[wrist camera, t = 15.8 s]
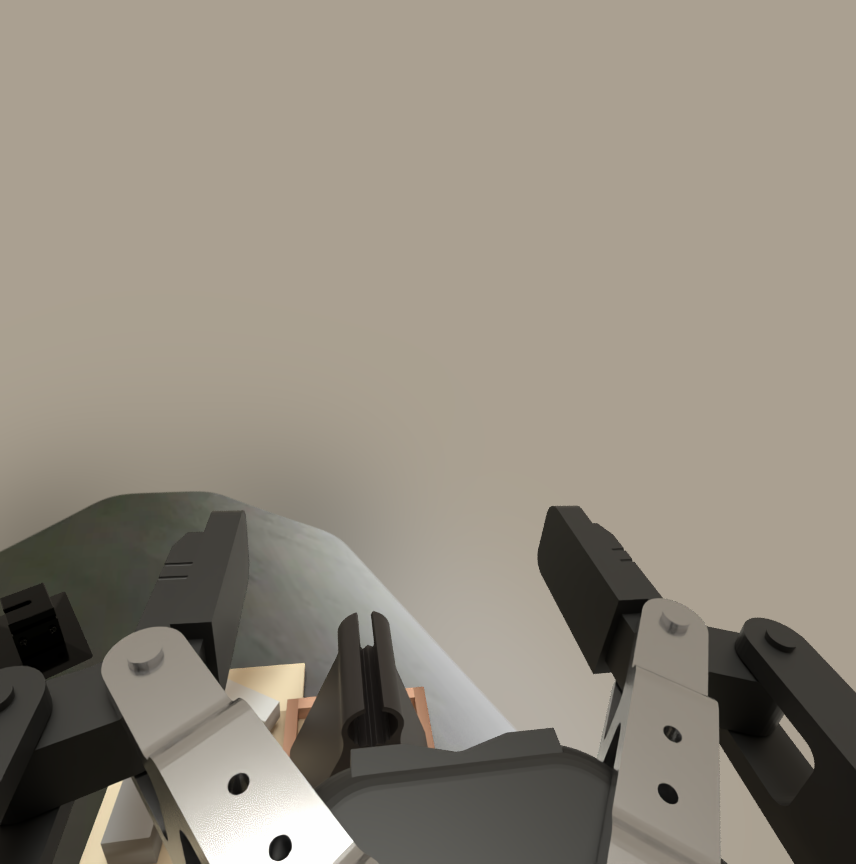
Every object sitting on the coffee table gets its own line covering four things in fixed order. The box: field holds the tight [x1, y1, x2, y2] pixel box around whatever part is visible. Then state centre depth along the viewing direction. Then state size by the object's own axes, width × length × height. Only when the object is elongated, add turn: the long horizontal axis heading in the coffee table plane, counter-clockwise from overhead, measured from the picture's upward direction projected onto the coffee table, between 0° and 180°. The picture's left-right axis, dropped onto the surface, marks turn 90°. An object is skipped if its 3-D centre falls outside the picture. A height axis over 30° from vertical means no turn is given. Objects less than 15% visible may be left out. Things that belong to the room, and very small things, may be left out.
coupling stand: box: [79, 663, 435, 864], centre depth 32 cm, size 21×17×4 cm
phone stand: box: [290, 611, 428, 789], centre depth 28 cm, size 9×6×12 cm, turn 100°
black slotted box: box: [0, 583, 93, 679], centre depth 41 cm, size 12×7×5 cm, turn 44°
